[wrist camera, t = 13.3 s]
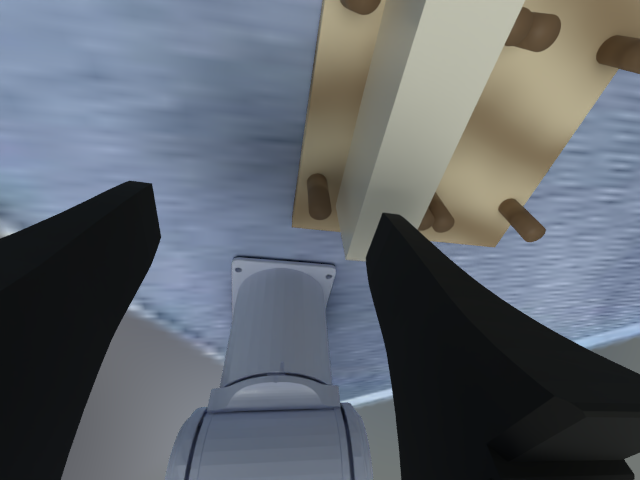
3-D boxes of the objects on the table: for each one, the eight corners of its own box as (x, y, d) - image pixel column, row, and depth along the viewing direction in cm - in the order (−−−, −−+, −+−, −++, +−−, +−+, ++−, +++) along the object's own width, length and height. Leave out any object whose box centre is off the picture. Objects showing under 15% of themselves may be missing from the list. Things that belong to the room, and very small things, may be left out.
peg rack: (486, 237, 24) (517, 276, 20) (292, 216, 21) (291, 258, 18) (668, -40, 14) (782, -48, 11) (341, -135, 11) (360, -183, 8)
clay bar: (380, 210, 20) (401, 264, 16) (335, 205, 20) (345, 259, 16) (467, -32, 13) (543, -40, 9) (398, -50, 12) (446, -66, 8)
